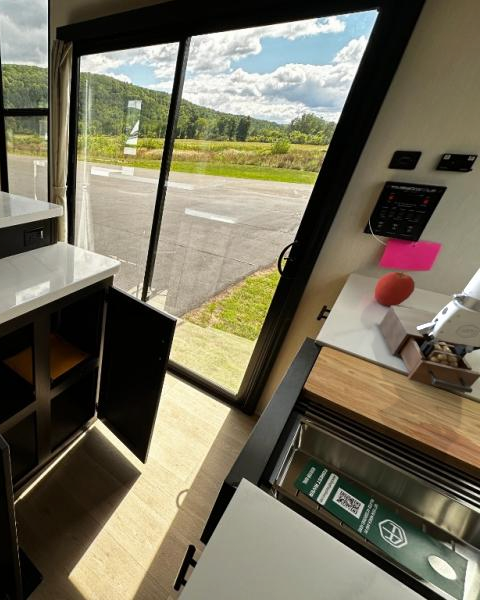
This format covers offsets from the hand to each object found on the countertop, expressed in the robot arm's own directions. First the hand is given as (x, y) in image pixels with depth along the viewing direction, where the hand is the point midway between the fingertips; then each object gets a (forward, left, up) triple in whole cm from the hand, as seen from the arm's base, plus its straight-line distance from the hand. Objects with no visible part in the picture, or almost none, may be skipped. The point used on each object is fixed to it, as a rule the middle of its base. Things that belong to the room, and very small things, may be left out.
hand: (438, 356), depth 88 cm
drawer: (0, +1, -6) cm, 6 cm away
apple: (+1, -40, -7) cm, 40 cm away
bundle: (0, 0, -1) cm, 1 cm away
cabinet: (0, -14, -6) cm, 15 cm away
